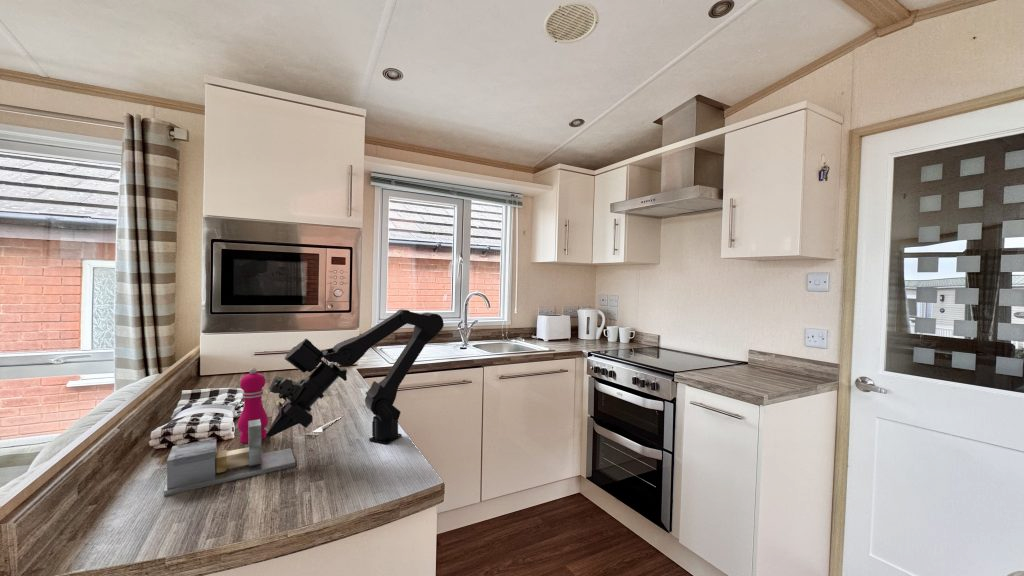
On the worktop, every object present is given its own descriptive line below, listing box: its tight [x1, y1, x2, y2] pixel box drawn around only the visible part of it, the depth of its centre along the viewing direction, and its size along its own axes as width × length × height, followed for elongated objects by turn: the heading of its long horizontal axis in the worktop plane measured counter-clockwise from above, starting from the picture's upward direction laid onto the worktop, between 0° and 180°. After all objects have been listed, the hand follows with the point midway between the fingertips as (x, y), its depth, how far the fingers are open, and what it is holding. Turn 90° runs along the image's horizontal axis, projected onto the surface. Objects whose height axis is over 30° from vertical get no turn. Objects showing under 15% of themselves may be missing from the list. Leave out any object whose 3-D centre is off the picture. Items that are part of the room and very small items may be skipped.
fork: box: [303, 416, 342, 436], centre depth 124 cm, size 3×20×2 cm, turn 173°
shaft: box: [215, 419, 262, 473], centre depth 92 cm, size 15×5×9 cm, turn 124°
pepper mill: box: [237, 367, 269, 444], centre depth 113 cm, size 7×7×20 cm
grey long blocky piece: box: [163, 438, 297, 497], centre depth 94 cm, size 24×10×7 cm, turn 124°
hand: (267, 436), depth 97 cm, fingers closed
